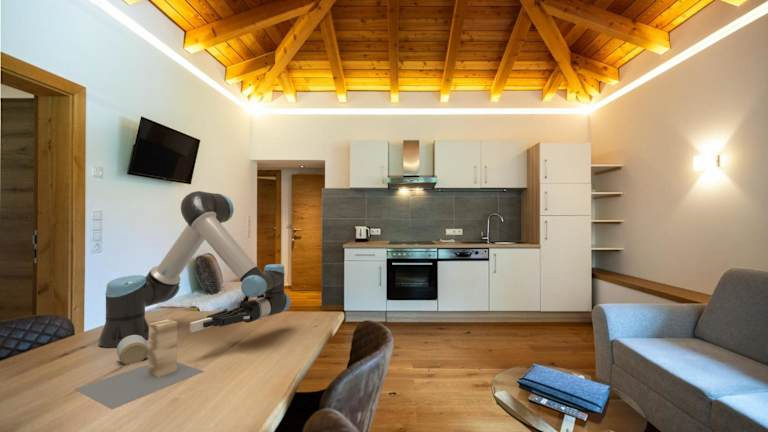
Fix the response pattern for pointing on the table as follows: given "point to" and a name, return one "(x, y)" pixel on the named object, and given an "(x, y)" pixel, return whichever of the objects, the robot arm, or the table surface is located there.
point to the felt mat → (133, 385)
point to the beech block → (162, 348)
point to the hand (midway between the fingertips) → (191, 327)
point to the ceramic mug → (132, 349)
